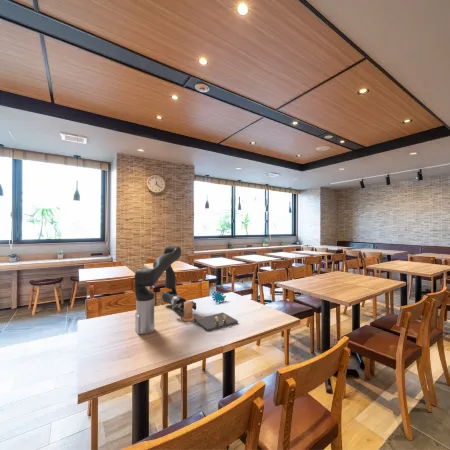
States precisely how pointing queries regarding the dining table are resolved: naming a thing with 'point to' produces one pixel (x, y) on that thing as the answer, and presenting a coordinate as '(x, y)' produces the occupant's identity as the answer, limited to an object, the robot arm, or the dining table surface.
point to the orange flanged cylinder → (188, 312)
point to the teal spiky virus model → (218, 297)
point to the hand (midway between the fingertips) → (189, 309)
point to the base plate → (215, 321)
